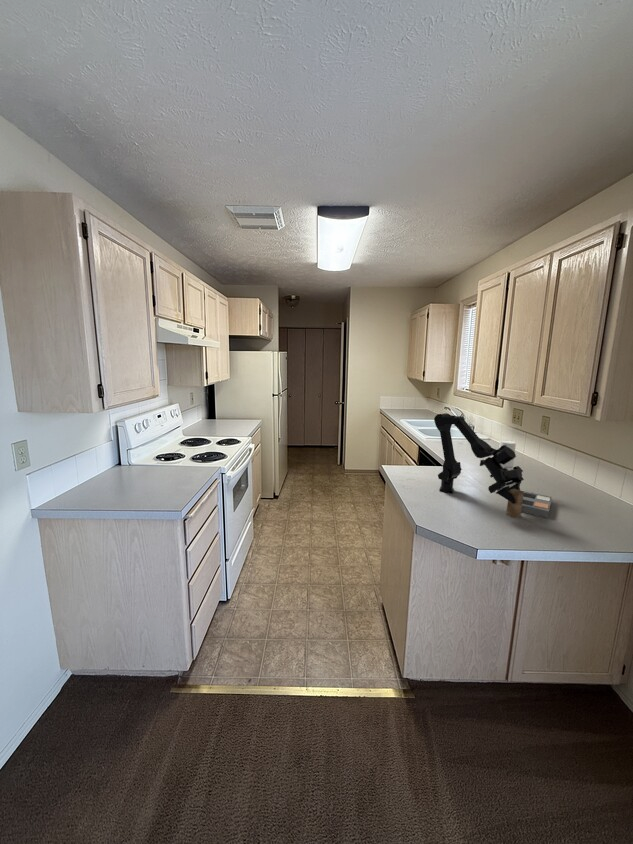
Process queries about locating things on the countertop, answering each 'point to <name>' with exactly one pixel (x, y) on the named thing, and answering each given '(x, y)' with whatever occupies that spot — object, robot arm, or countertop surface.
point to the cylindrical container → (512, 447)
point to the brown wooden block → (515, 508)
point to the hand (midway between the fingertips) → (518, 501)
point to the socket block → (536, 504)
